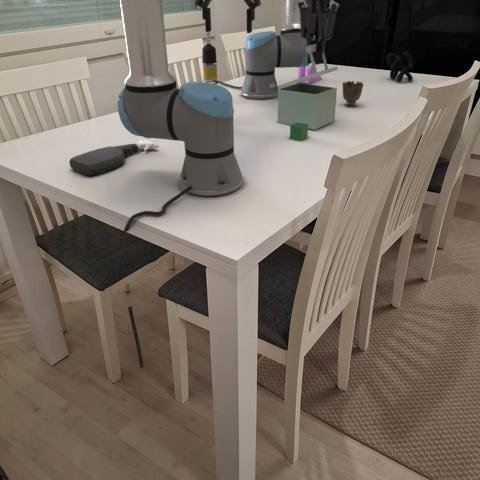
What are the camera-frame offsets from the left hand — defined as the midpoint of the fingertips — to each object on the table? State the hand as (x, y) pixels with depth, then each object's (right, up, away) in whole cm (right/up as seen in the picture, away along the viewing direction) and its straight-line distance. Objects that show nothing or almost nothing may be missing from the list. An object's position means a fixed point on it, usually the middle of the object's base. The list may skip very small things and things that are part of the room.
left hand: (228, 32), depth 139 cm
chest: (+26, -25, +12) cm, 38 cm away
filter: (-8, -8, +40) cm, 42 cm away
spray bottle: (-31, -42, -14) cm, 54 cm away
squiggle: (+76, +7, +62) cm, 98 cm away
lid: (+25, -13, +5) cm, 29 cm away
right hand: (+27, -9, +1) cm, 28 cm away
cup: (+45, -14, +29) cm, 55 cm away
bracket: (+36, +8, +65) cm, 75 cm away
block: (+22, -33, -1) cm, 40 cm away
